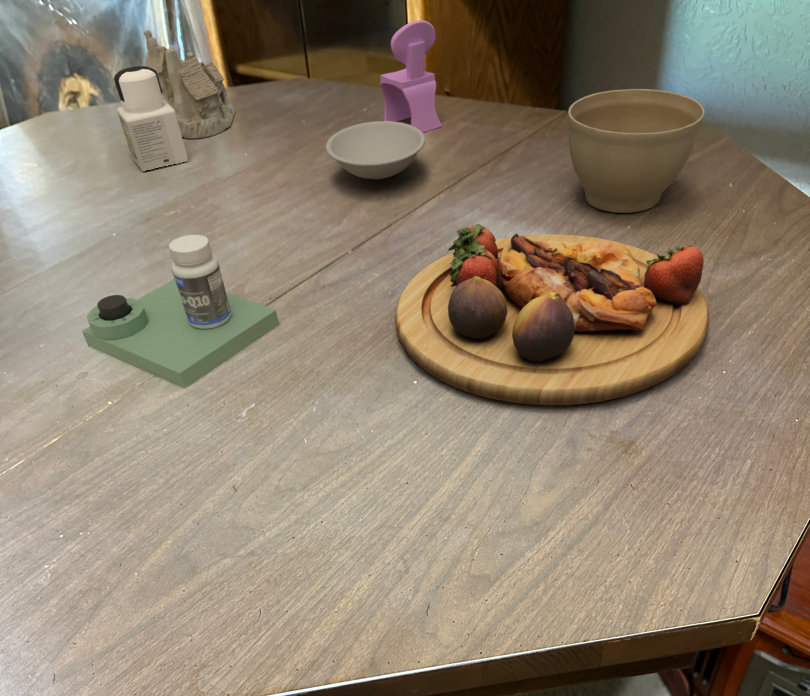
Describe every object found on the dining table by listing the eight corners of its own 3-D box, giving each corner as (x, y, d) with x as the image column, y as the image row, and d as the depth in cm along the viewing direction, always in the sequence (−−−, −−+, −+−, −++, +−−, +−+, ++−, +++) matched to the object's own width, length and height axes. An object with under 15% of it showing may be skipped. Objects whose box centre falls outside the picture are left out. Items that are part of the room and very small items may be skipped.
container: (132, 159, 120) (103, 69, 111) (177, 148, 122) (152, 59, 113) (142, 173, 115) (113, 80, 106) (189, 162, 117) (164, 69, 108)
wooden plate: (707, 262, 83) (726, 187, 77) (702, 431, 62) (727, 348, 56) (439, 244, 91) (436, 175, 85) (355, 390, 70) (345, 312, 64)
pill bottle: (180, 327, 77) (155, 251, 71) (202, 305, 80) (179, 230, 74) (219, 332, 76) (196, 255, 70) (240, 310, 79) (220, 234, 73)
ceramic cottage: (188, 142, 123) (164, 36, 113) (144, 127, 133) (118, 29, 123) (264, 123, 131) (247, 22, 121) (217, 111, 140) (198, 16, 130)
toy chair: (416, 113, 126) (411, 9, 115) (446, 125, 121) (444, 17, 110) (377, 125, 123) (368, 19, 112) (406, 137, 118) (399, 28, 107)
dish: (330, 160, 113) (326, 126, 110) (421, 152, 113) (419, 116, 110) (330, 206, 101) (325, 168, 98) (432, 196, 101) (430, 158, 98)
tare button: (96, 317, 77) (91, 304, 76) (118, 305, 79) (113, 292, 78) (114, 325, 76) (108, 311, 75) (136, 312, 77) (131, 298, 76)
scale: (88, 346, 79) (75, 317, 77) (182, 291, 87) (174, 263, 84) (185, 389, 72) (174, 359, 70) (279, 325, 80) (273, 295, 77)
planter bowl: (551, 222, 93) (559, 129, 85) (570, 174, 103) (578, 87, 95) (682, 230, 89) (703, 133, 81) (688, 179, 99) (706, 89, 91)
